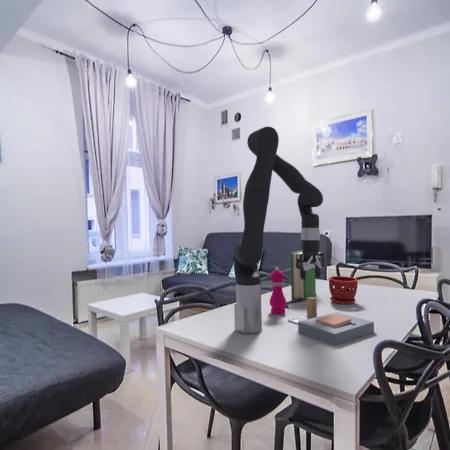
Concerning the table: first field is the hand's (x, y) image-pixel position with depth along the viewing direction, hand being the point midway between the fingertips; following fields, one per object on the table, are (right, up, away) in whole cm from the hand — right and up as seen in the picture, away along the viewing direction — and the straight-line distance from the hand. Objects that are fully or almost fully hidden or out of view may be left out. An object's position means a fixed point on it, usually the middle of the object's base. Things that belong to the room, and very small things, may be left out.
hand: (310, 278), depth 130 cm
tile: (+3, -12, -17) cm, 21 cm away
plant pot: (+23, -16, +25) cm, 37 cm away
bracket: (-3, -17, +26) cm, 31 cm away
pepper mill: (-12, -17, +10) cm, 23 cm away
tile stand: (+4, -16, -17) cm, 24 cm away
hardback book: (+7, -17, +40) cm, 43 cm away
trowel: (-2, -17, -2) cm, 17 cm away
